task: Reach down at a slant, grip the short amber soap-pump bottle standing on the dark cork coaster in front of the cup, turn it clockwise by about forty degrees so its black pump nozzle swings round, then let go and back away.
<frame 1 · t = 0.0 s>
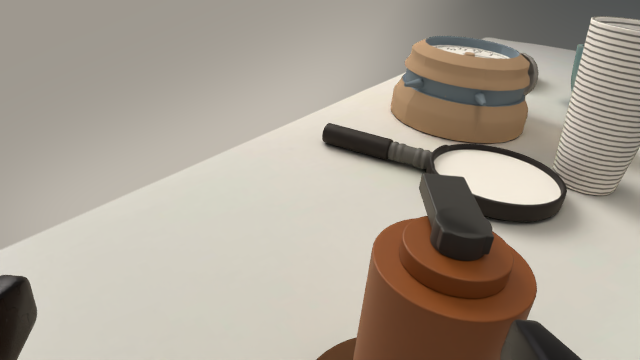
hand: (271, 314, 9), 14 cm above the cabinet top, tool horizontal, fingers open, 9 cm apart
alarm clock: (460, 112, 64), on the cabinet top
cup: (581, 183, 48), on the cabinet top
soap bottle: (430, 330, 20), point 6 cm above the cabinet top, hinge at 0.0°
magnifying glass: (431, 173, 47), on the cabinet top
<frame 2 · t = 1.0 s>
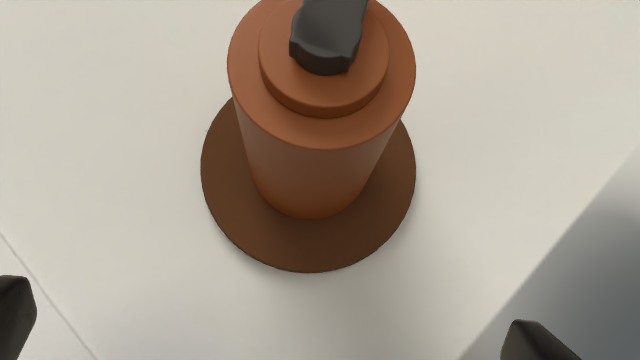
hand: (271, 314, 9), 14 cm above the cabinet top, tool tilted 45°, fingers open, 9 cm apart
coaster: (309, 166, 25), on the cabinet top
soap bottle: (317, 107, 19), point 6 cm above the cabinet top, hinge at 0.0°
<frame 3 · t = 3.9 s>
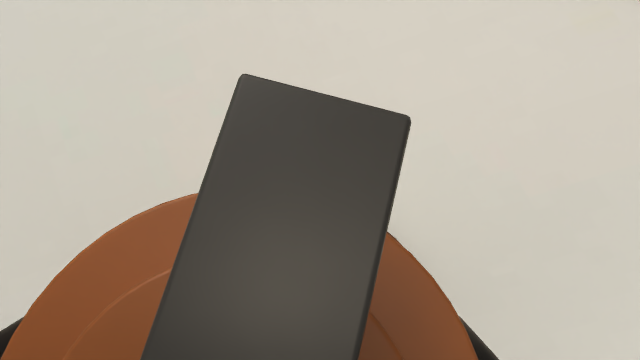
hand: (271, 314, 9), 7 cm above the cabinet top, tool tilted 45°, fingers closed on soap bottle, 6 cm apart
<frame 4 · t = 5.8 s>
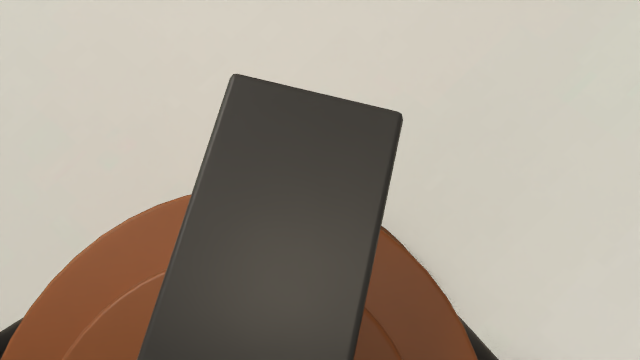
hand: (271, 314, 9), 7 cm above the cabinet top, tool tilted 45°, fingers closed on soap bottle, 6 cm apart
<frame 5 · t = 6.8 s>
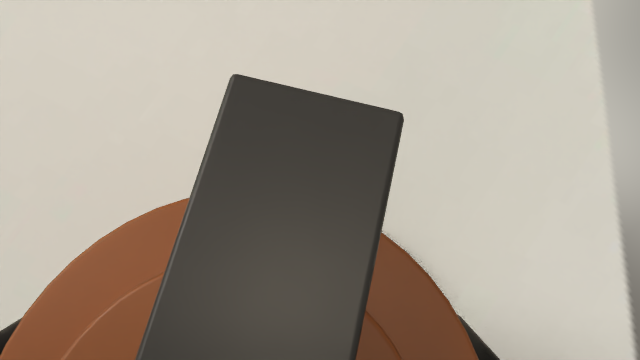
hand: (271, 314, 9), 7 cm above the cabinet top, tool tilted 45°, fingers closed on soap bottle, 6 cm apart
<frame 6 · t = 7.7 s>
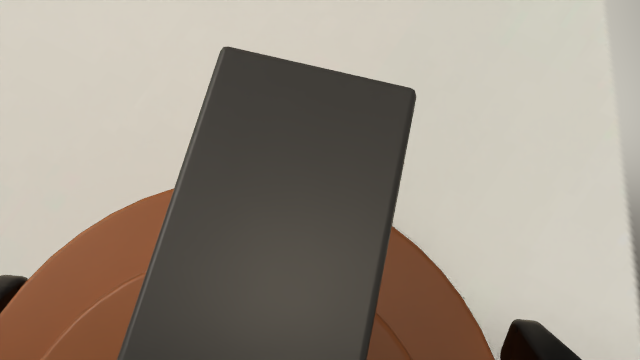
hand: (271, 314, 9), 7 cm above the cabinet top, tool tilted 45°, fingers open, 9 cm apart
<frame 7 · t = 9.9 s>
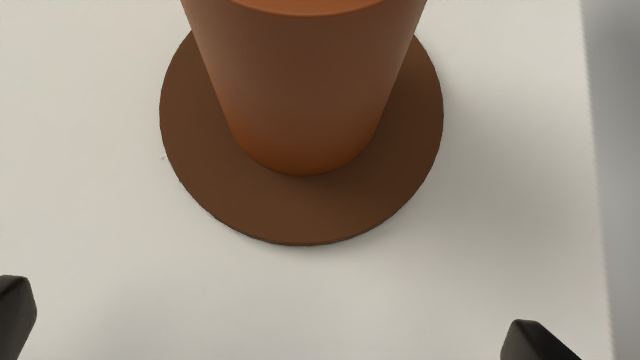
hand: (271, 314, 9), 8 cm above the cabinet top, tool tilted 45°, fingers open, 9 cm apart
coaster: (303, 108, 19), on the cabinet top
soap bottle: (306, 0, 13), point 6 cm above the cabinet top, hinge at -38.3°
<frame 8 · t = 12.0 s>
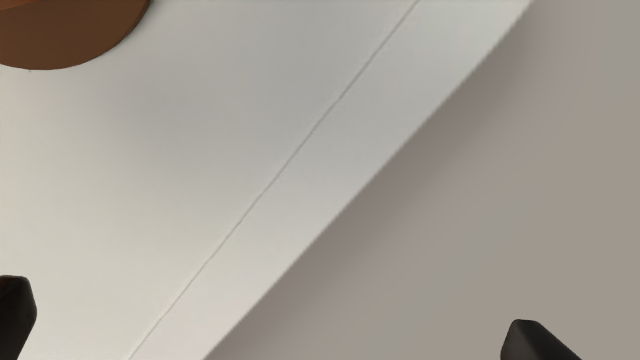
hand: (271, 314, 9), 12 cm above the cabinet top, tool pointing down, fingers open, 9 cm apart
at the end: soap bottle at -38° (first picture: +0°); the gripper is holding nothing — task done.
